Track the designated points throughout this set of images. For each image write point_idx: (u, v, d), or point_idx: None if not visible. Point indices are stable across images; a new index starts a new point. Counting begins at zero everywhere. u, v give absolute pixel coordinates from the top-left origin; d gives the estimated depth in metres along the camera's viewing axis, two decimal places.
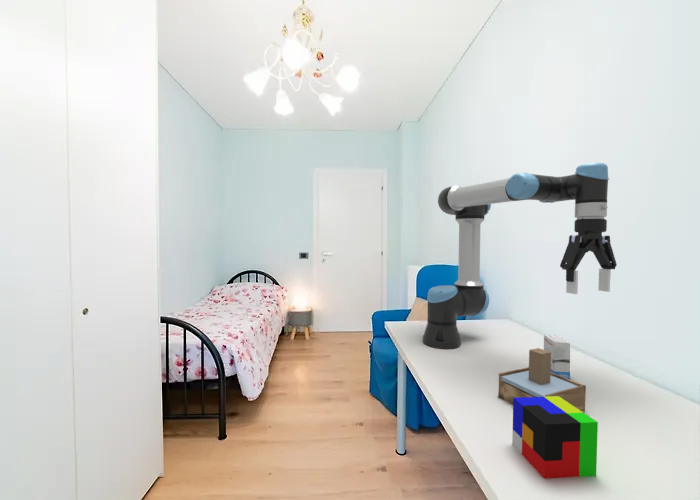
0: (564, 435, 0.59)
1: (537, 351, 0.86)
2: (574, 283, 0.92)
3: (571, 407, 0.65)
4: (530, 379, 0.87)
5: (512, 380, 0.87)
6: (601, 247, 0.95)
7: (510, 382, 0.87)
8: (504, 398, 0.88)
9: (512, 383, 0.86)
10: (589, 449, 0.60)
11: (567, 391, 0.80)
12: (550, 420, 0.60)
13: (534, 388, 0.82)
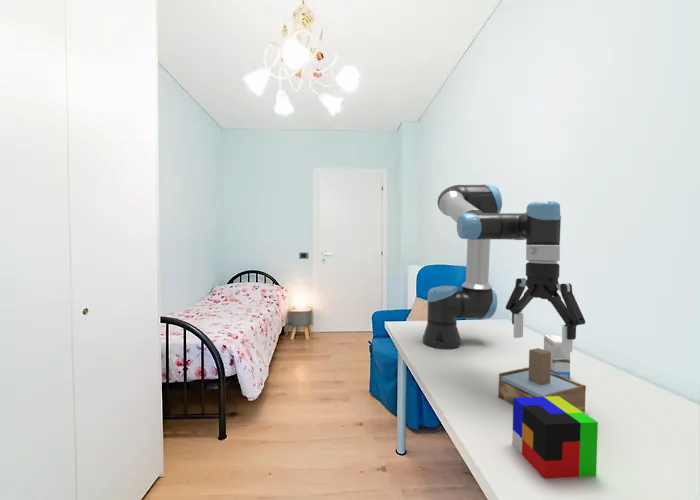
0: (564, 435, 0.59)
1: (537, 351, 0.86)
2: None
3: (571, 407, 0.65)
4: (530, 379, 0.87)
5: (512, 380, 0.87)
6: (546, 295, 0.82)
7: (510, 382, 0.87)
8: (504, 398, 0.88)
9: (512, 383, 0.86)
10: (589, 449, 0.60)
11: (567, 391, 0.80)
12: (550, 420, 0.60)
13: (534, 388, 0.82)
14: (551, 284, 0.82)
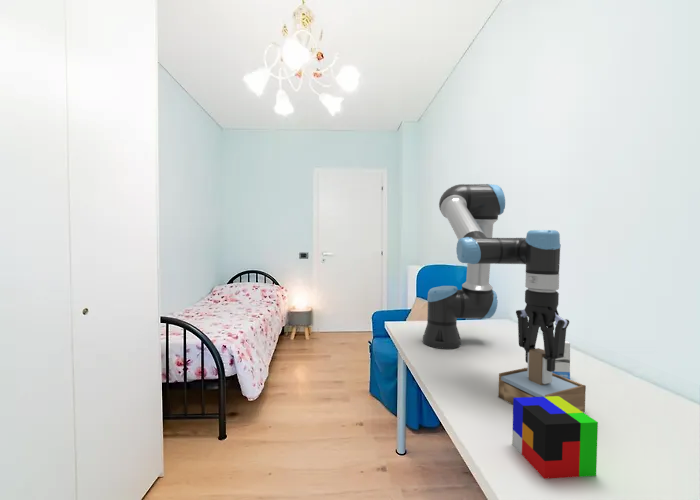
0: (564, 435, 0.59)
1: (537, 351, 0.86)
2: None
3: (571, 407, 0.65)
4: (530, 379, 0.87)
5: (512, 380, 0.87)
6: (541, 324, 0.84)
7: (510, 382, 0.87)
8: (504, 398, 0.88)
9: (512, 383, 0.86)
10: (589, 449, 0.60)
11: (567, 391, 0.80)
12: (550, 420, 0.60)
13: (534, 388, 0.82)
14: (551, 314, 0.82)
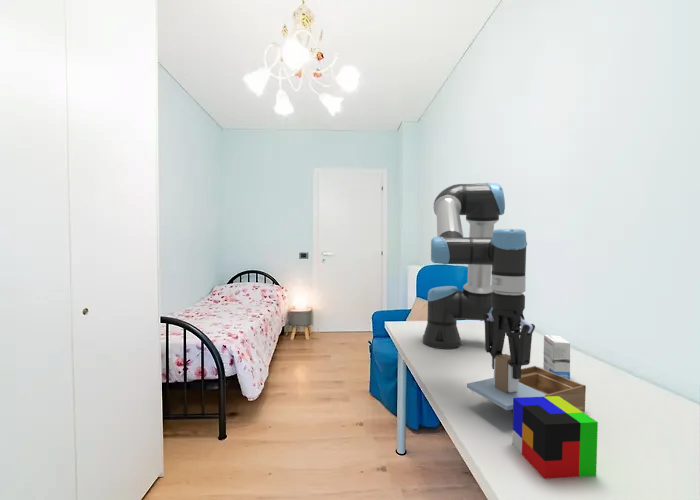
0: (564, 435, 0.59)
1: (503, 357, 0.81)
2: None
3: (571, 407, 0.65)
4: (496, 387, 0.82)
5: (477, 388, 0.82)
6: (506, 329, 0.79)
7: (475, 390, 0.82)
8: None
9: (477, 391, 0.81)
10: (589, 449, 0.60)
11: (567, 391, 0.80)
12: (550, 420, 0.60)
13: (499, 397, 0.77)
14: (516, 318, 0.77)
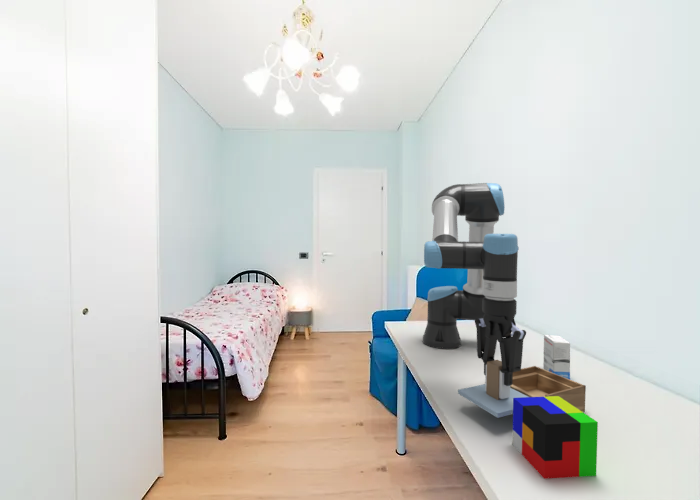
0: (564, 435, 0.59)
1: (495, 363, 0.80)
2: None
3: (571, 407, 0.65)
4: (488, 393, 0.81)
5: (468, 394, 0.81)
6: (497, 335, 0.78)
7: (466, 396, 0.81)
8: None
9: (468, 397, 0.80)
10: (589, 449, 0.60)
11: (567, 391, 0.80)
12: (550, 420, 0.60)
13: (489, 404, 0.76)
14: (507, 324, 0.76)
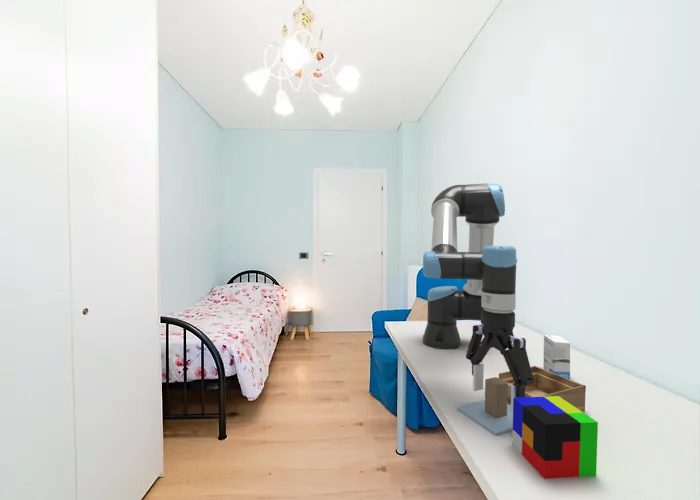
0: (564, 435, 0.59)
1: (493, 381, 0.80)
2: None
3: (571, 407, 0.65)
4: (486, 411, 0.81)
5: (467, 412, 0.81)
6: (499, 347, 0.77)
7: (465, 414, 0.81)
8: None
9: (466, 415, 0.80)
10: (589, 449, 0.60)
11: (567, 391, 0.80)
12: (550, 420, 0.60)
13: (488, 422, 0.76)
14: (505, 336, 0.76)
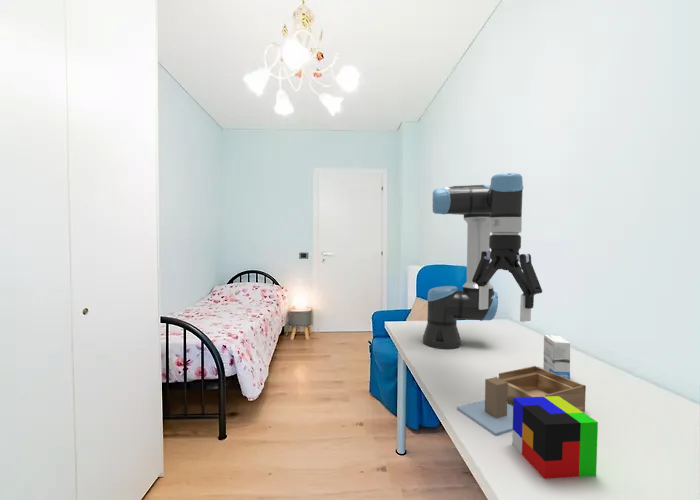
0: (564, 435, 0.59)
1: (493, 381, 0.80)
2: None
3: (571, 407, 0.65)
4: (486, 411, 0.81)
5: (467, 412, 0.81)
6: (507, 266, 0.84)
7: (465, 414, 0.81)
8: None
9: (466, 415, 0.80)
10: (589, 449, 0.60)
11: (567, 391, 0.80)
12: (550, 420, 0.60)
13: (488, 422, 0.76)
14: (512, 255, 0.83)
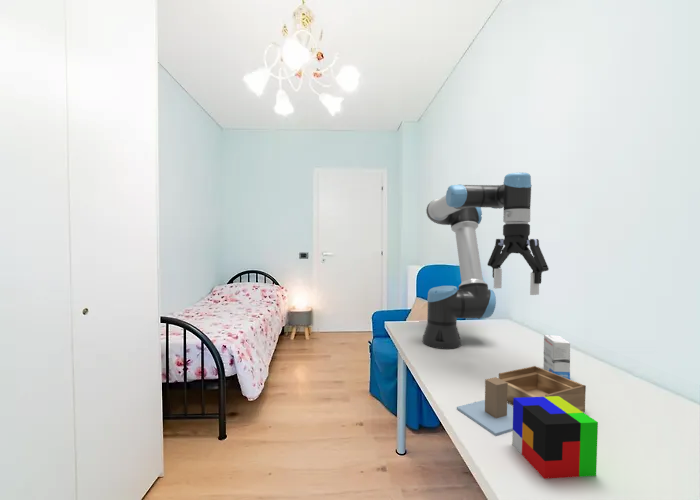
0: (564, 435, 0.59)
1: (493, 381, 0.80)
2: None
3: (571, 407, 0.65)
4: (486, 411, 0.81)
5: (467, 412, 0.81)
6: (518, 250, 1.01)
7: (465, 414, 0.81)
8: None
9: (466, 415, 0.80)
10: (589, 449, 0.60)
11: (567, 391, 0.80)
12: (551, 420, 0.60)
13: (488, 422, 0.76)
14: (522, 240, 1.00)
